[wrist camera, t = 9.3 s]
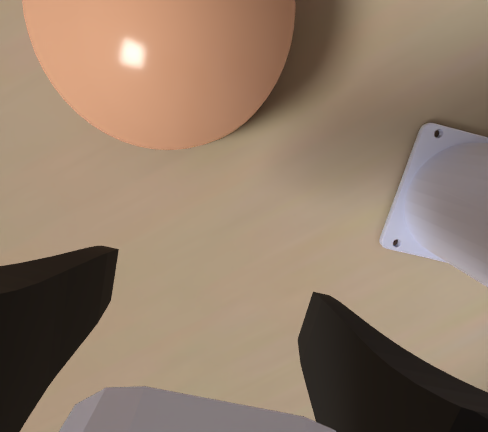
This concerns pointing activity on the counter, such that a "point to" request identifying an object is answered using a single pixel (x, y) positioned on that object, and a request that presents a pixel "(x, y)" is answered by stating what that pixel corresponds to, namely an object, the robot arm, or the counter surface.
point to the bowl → (162, 63)
